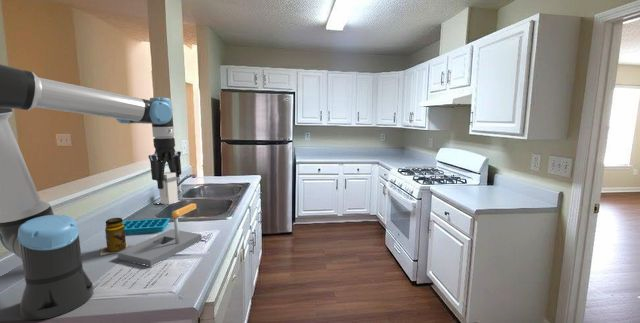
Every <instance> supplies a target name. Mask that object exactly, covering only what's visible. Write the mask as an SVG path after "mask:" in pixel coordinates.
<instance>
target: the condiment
mask: <svg viewBox="0 0 640 323" xmlns="http://www.w3.org/2000/svg"><path fill="white" fill-rule="evenodd" d="M104 231H105V240H106V241H105V242H106V246H105V247H101V248H100V254H99V255H100V256H105V255H112V254H116V253H118V252H120V251H122V250H125V249H127V248H128V242H127V241H126V235H125V229H124V225H123V218H122V217H112V218H108V219H106V221H105V228H104Z"/></svg>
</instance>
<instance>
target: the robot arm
mask: <svg viewBox="0 0 640 323" xmlns="http://www.w3.org/2000/svg"><path fill="white" fill-rule="evenodd" d="M172 104H173V103H172V100H171V98H168V97H150V98H149V99H145V98H139V97H135V96H132V95H131V96H130V95H125V94H122V93H116V92H111V91H106V90H102V89H101V90H100V89H97V88H90V87H88V86H87V87H86V86H82V85H78V84H77V85H76V84H72V83H67V82H63V81H57V80H53V79H48V78H43V77H38V75H36V73H35V72H33V71H30V70H25V69H22V68H18V67H17V68H16V67H13V66H9V65H5V64H2V63H0V243H1V244H2V246H3V247H4V248H5V249H6V250H8V251H9V252H11V253H13V254H14V255H15V256H16V257H18V258H20V259H21V262H22V268H23V274H24V279H25V280H24V281H25V286H24V291H23V293H22V296H21V300H20V303H19V311H20V316H21V318H23V319H25V320H28V321H29V320H30V321H34V320H35V321H36V320H37V321H39V320H46V319H50V318H54V317H57V316H60V315H63V314H66V313H68V312H71V311H74V310H75V309H77V308H79V307H81V306H82V305H84V304H86V303H87V302H88V301H89V300H90V299H91V298H92V297H93V295H94V286H93V283H92V281H91V279H90V278H89V276H88V274H87V273H86V271H85V270H84V268H83V259H82V258H83V257H82V250H81V243H80V229H79V227H78V222H77V220H76V219H75V218H73V217H71V216H69V215H66V214H65V215H64V214H62V215H59V214H55V213H54V211H53V209H52V206H51V204H50V203H49V202H46V201H43V200H41V198H40V195H39V193H38V191H37V188H36V185H35V182H34V181H33V178H32V175H31V173H30V171H29V169H28V166H27V164H26V161H25V159H24V156H23V154H22V151H21V149H20V147H19V144H18V141H17V139H16V137H15V135H14V131H13V129H12V127H11V124H10V121H9V119H10V118H11V116H12V114H13V113H14V112H13V109H14V110H24V111H30V110H32V109H34V108H40V109H45V110H53V111H59V112H66V113H67V112H69V113H74V114H75V113H76V114H83V115H90V116H95V117H96V116H97V117H103V118H104V117H105V118H109V119H110V118H112V119H116V121H117V122H118V123H120V124H128V125H130V124H151V130H152V132H151V133H152V137H153V139H152V140H153V141H152V142H153V147H154V149H155V151H154V153H153V154H149V155H148V157H147V158H148V159H149V161H150V162H149V163H150V170H151V171H150V173H151V180H153V181H156V182H157V189H158V191H159V197H160V196H162V197H166V196H167V195H166V184H165V181H164V180H163V177H164V173H165V167H166V165H167V166H168V169H169V172H172V173H176V176H177V180H176V183H177V185H178V184H179V183H178V182H179V180H178V178H180V177H181V175H182V164H181V155H182V151H179V150H178V151H177V150H175V147H176V143H175V142H176V141H175V129H174V128H175V127H174V117H173V115H174V114H173V111H174V110H173V105H172ZM177 194H179V193H178V190H177Z"/></svg>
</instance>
